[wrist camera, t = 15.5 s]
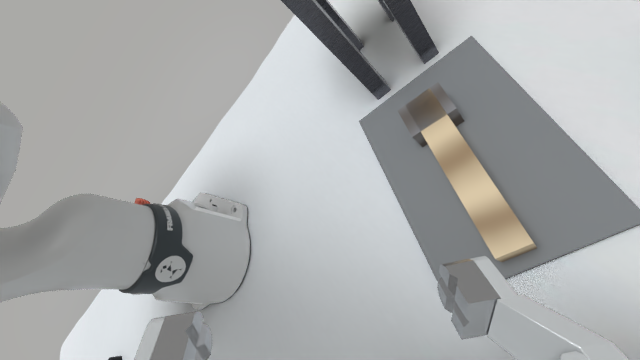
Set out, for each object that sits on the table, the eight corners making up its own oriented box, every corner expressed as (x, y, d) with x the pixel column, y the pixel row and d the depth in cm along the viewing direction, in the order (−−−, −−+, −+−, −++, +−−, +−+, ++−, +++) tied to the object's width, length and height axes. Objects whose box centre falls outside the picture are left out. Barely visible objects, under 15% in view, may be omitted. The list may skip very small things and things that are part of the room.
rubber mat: (648, 221, 23) (649, 219, 22) (449, 301, 29) (447, 301, 29) (472, 39, 36) (471, 35, 35) (361, 123, 42) (358, 121, 42)
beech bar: (550, 242, 26) (547, 237, 23) (490, 266, 28) (482, 263, 25) (446, 95, 35) (438, 81, 33) (408, 121, 37) (397, 110, 35)
